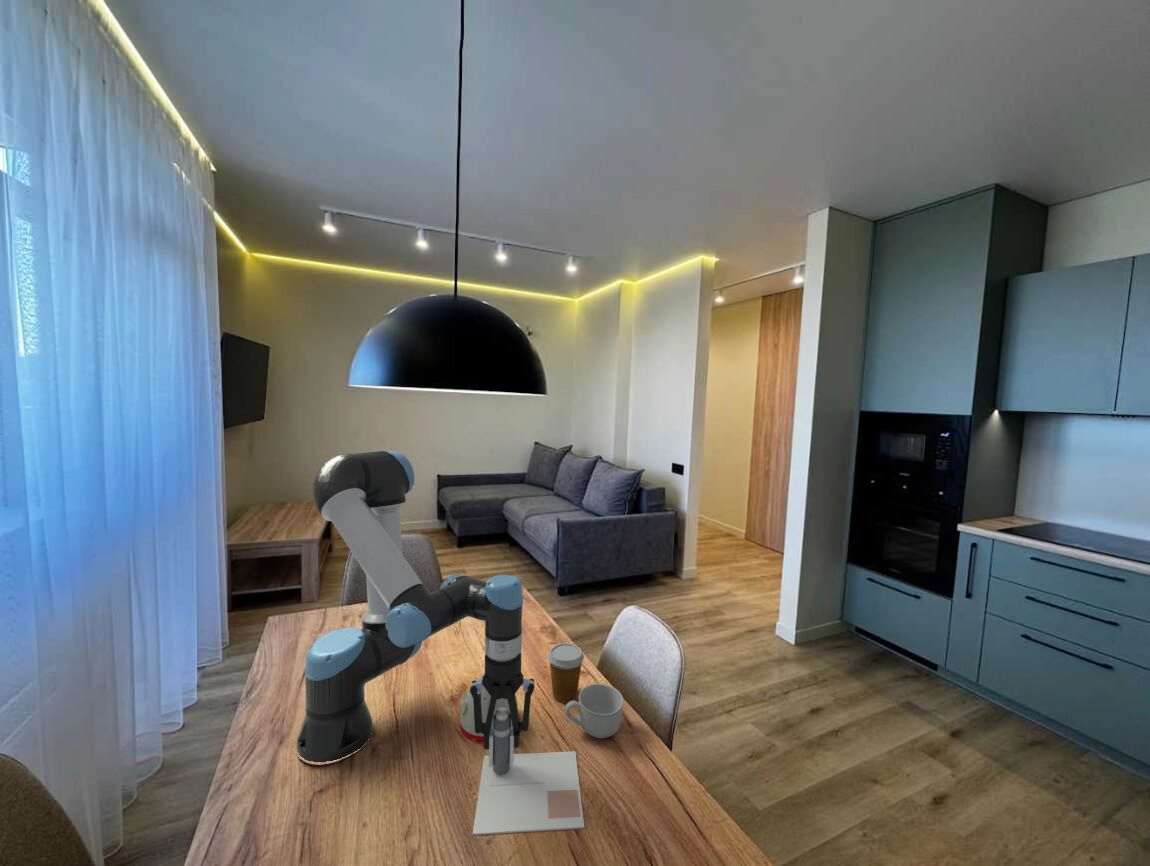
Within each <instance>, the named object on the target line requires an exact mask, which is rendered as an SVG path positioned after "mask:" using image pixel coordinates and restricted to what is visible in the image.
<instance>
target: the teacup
mask: <svg viewBox="0 0 1150 866" xmlns="http://www.w3.org/2000/svg"><path fill="white" fill-rule="evenodd" d="M624 702H625V701H624V696H623V695H622V693H621V692H620V691H619V690H618V689H617V688H615V687H614V686H612V685H608V684H605V683H593V684H592V683H591V684H588V685H586V686H584V687H583V688H582V689H581V690H580V691H579V694H578V701H576V700H574V701H570V702H569V703H566V705H565V708H564V712H565V717H567V719H569V720H570V721H572V722H574V723H576V725H577V726H581V729H583V731H584V732H585V733H587V734H588V735H589V736H590V737H593V738H595V739H605V738H609V737H611V736H613V735H615V734H616V733H617V732H618V731H619V730H620V727H621V724H622V720H623V708H624ZM572 708H576V709H577V712H578V716H575V715H573V714H571V712H570V710H571V709H572Z"/></svg>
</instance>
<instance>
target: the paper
mask: <svg viewBox="0 0 1150 866" xmlns="http://www.w3.org/2000/svg"><path fill="white" fill-rule="evenodd" d="M581 795H582V794H581V787H580V780H579V770H578V762H577V753H576V751H575V750H574V751H556V752H555V751H554V752H531V753H530V752H529V753H514V762H513V766H510V769H509V771H508V772H507V773H505V774H496V773H495V772H494V771H493V767H489V754H487V755H483V762H482V769H481V775H480V781H479V788H478V796H477V801H476V808H475V809H476V810H475V814H474V815H475V816H474V823H473V828H472V829H473V830H472V836H482V834H483V835H497V834H499V833H500V834H513V833H527V832H528V833H531V832H532V833H533V832H544V831H545V832H546V831H561V830H579V829H585V821H584V813H583V804H582V797H581Z"/></svg>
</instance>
